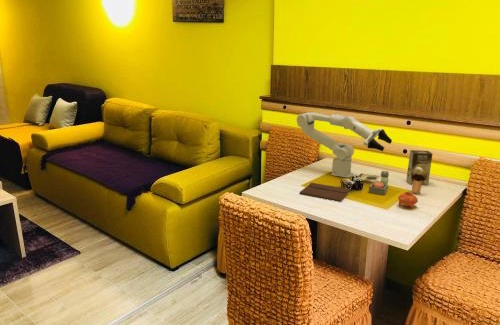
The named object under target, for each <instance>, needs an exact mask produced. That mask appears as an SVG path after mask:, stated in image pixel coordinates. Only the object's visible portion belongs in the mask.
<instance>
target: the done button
mask: <svg viewBox="0 0 500 325" xmlns="http://www.w3.org/2000/svg"><path fill="white" fill-rule="evenodd" d="M383 186H384V184H383V183H381V182H375V183H374V187H378V188H383Z"/></svg>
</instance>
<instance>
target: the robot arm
mask: <svg viewBox="0 0 500 325" xmlns="http://www.w3.org/2000/svg"><path fill="white" fill-rule="evenodd" d="M315 121H318V122H326V123H329V124H330V126H334V127H335V126H336V127H340V128H341V127H343V129H345V130H350V131H351V132H353V133H355V134H356V135H358V136H359V137H360V138H362V139H364V141H363V146H365V147H367V148H368V149H373V150H378V151H381V152H383V151H384V150H385V146H383V145H381V144H380V143H379V142H378V141H377V140H379V141H383V142H385V143H387V144H392V142H393V139H392V138H390V137H389V135H388V134H387V132H386V131H385V129H383V128H380V127H378V128H376V129H371V128H370V127H368V126H367V125H365V124H364V123H361V121H358V120H357V119H356V117H354V116H353V115H348V116H347V115H346V114H343V115H342V114H338V112H337V113H336V112H335V113H332V114H331V115H328V114H324V113H320V112H319V113H318V112H314V111H312V112H311V111H307V112H306V113H305V112H304V113H299V114H298V115H297V116H296V124H297V126H298V127H300V128H301V130H302V132H303V133H304V134H305V135H306V136H307V137H308V138H311V139H312V140H314V141H315V142H318V143H319V144H321V145H323V146H324V147H326V148H328V149H329V150H331V151H332V154H333V155H335V156H336V157H334V158H333V160H332V166H331V174H330V175H331V176H334V177H335V176H336V177H342V178H346V179H347V178H350V177H351V176H352V175H353V174H354V173H353V172H352V156H353V155H354V153H355V148H354V147H353V146H352V145H351V144H346V143H343V142H339V141H337V140H335V139H333V138H332V137H330V136H328V135H327V134H326V133H325V134H324V133H323V132H321V131H319V130H317V129H316V128H315ZM376 138H377V140H375V139H376Z"/></svg>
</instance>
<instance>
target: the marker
mask: <svg viewBox="0 0 500 325" xmlns="http://www.w3.org/2000/svg"><path fill="white" fill-rule="evenodd" d="M389 174H390V172H389V171H386V170H382V171H381V173H380V176H381V183H383V184H386V185H388V183H389V176H390V175H389Z"/></svg>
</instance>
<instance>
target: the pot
mask: <svg viewBox="0 0 500 325" xmlns="http://www.w3.org/2000/svg"><path fill="white" fill-rule="evenodd" d="M397 199H398V206H400V207H401V206H402V205H404V206H408V207H410V209H413V208H414V206H415V205H416V204H417V203H418V201H419V198H418V197H417V196H416V195H415V194H414V193H410V191H405V192H403V193H401V194H400V195H398V197H397Z"/></svg>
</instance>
